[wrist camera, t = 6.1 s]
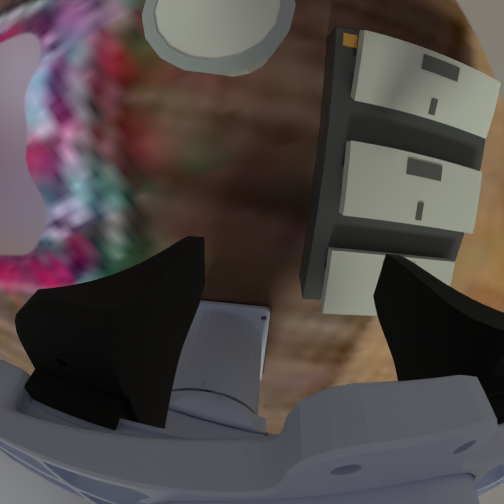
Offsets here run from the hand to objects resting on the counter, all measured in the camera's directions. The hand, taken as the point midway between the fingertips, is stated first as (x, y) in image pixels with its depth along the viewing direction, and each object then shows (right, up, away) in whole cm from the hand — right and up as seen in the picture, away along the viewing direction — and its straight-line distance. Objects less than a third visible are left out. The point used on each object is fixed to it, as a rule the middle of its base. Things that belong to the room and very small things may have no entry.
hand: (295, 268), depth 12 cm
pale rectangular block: (+7, -1, +7) cm, 10 cm away
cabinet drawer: (+8, +10, +1) cm, 13 cm away
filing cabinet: (+8, +6, +7) cm, 13 cm away
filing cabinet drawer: (+8, +4, +4) cm, 10 cm away
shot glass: (-3, +14, +4) cm, 15 cm away
